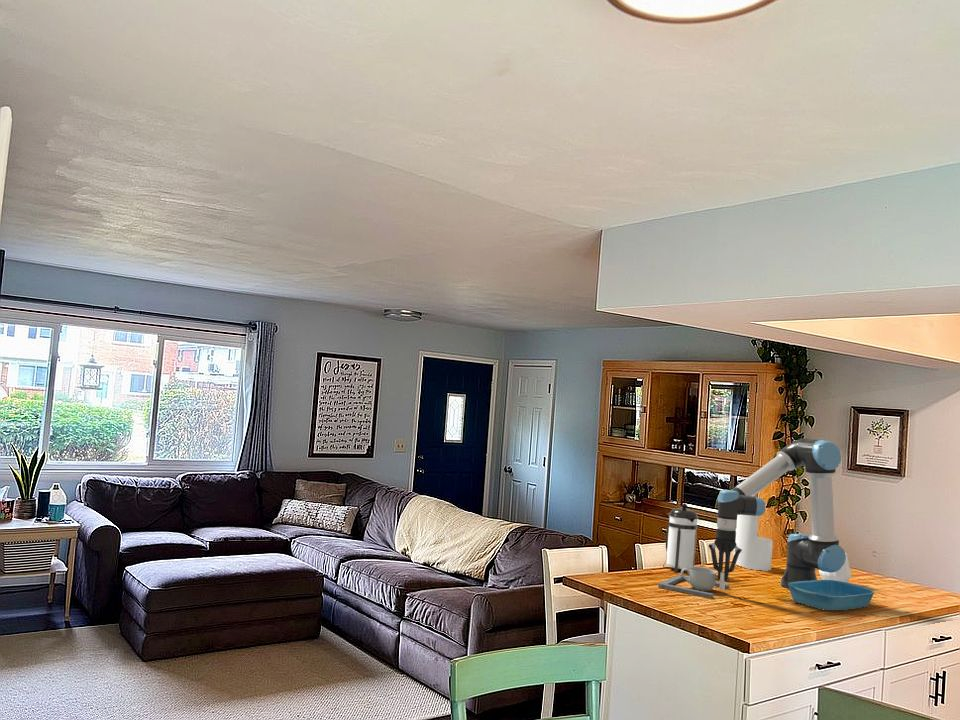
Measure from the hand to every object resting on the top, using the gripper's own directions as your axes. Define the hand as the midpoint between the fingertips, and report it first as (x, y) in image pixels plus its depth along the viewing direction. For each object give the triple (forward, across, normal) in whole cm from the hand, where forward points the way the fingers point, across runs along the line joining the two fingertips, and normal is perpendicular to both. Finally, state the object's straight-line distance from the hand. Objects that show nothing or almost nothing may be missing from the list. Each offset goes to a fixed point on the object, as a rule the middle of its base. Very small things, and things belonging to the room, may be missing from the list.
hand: (722, 588), depth 311 cm
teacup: (+2, -10, 0) cm, 10 cm away
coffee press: (+2, -28, +32) cm, 43 cm away
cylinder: (+2, -5, +75) cm, 75 cm away
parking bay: (+2, -10, 0) cm, 11 cm away
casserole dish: (+3, +37, +22) cm, 43 cm away
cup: (+2, +32, +73) cm, 80 cm away
